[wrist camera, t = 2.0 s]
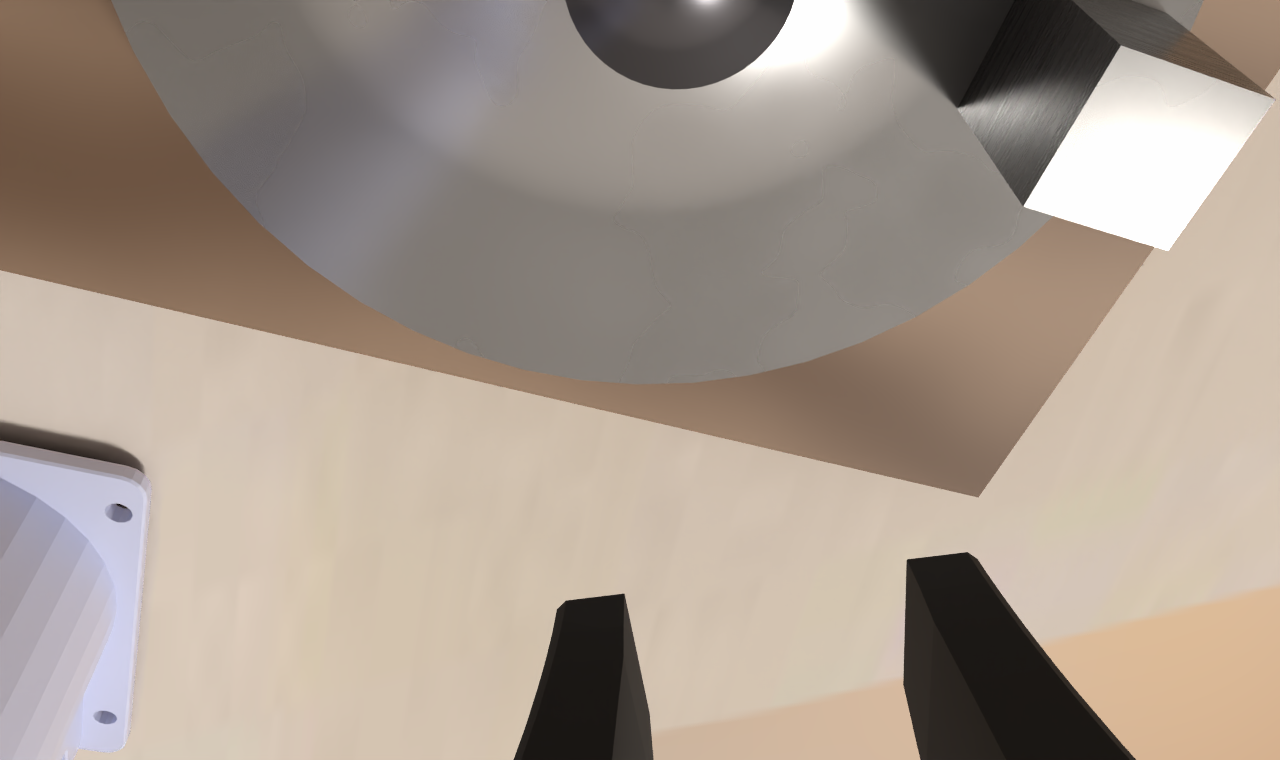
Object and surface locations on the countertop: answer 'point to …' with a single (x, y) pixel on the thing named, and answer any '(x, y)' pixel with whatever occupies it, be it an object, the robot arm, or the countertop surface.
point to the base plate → (325, 314)
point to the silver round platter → (689, 157)
